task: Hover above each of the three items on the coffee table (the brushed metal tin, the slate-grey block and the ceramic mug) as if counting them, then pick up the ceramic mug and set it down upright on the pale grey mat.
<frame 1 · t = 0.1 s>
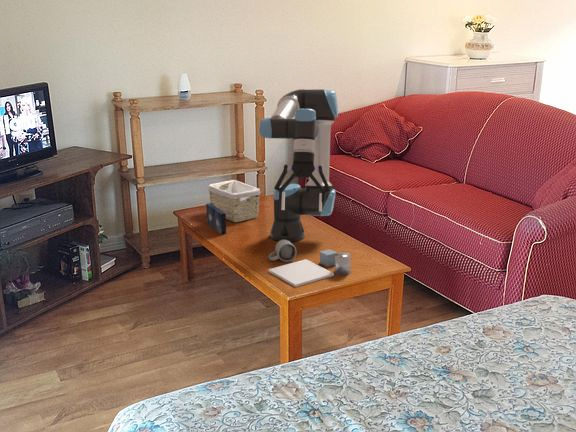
hand: (301, 210, 243), 28 cm above the table, tool tilted 20°, fingers open, 13 cm apart
vhs cassette tape: (216, 229, 311), on the table
slate block: (328, 263, 269), on the table
metal tin: (342, 272, 260), on the table
grey mat: (301, 273, 259), on the table
storage basket: (234, 215, 330), on the table
ceramic mug: (282, 259, 274), on the table
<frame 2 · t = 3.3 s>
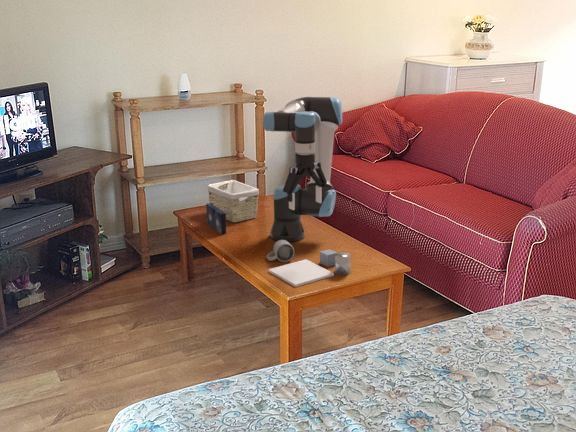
hand: (305, 205, 265), 23 cm above the table, tool pointing down, fingers open, 13 cm apart
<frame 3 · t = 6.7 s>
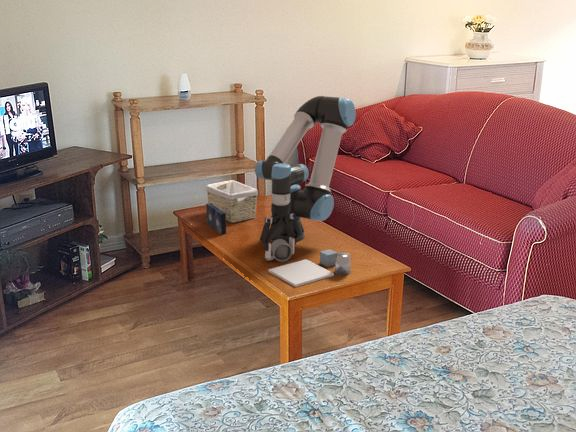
hand: (279, 255, 273), 2 cm above the table, tool pointing down, fingers open, 11 cm apart
ceramic mug: (278, 259, 274), on the table, touching gripper
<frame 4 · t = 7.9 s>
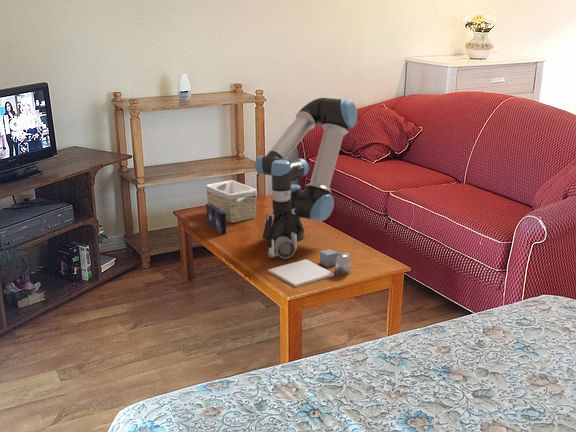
hand: (283, 251, 273), 3 cm above the table, tool pointing down, fingers closed on ceramic mug, 10 cm apart
ceramic mug: (281, 256, 274), point 1 cm above the table, touching gripper
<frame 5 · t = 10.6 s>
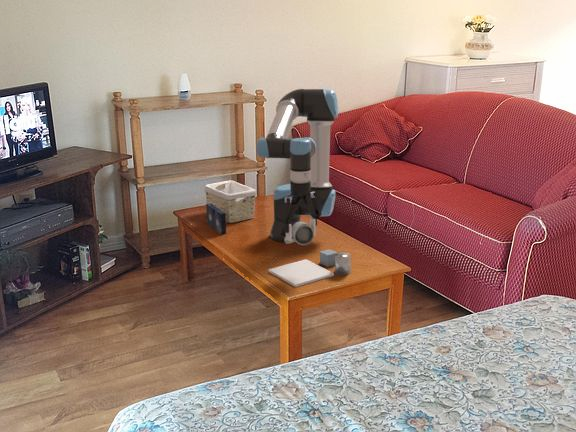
hand: (300, 237, 254), 15 cm above the table, tool pointing down, fingers closed on ceramic mug, 10 cm apart
ceramic mug: (298, 242, 255), point 13 cm above the table, touching gripper
when the fingers open (3 cm above the table, at t = 13.1 s): ceramic mug stays where it is, resting on grey mat.
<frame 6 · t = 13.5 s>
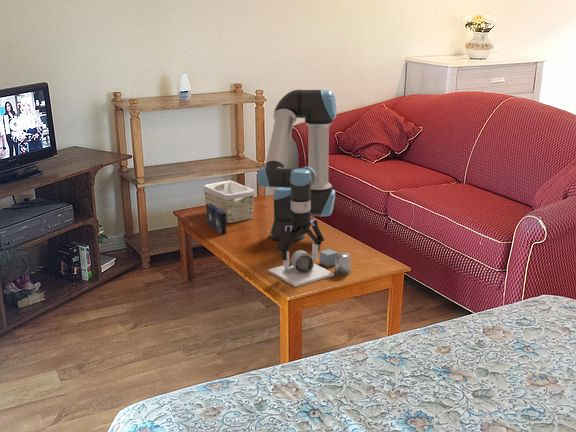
hand: (300, 263, 258), 4 cm above the table, tool pointing down, fingers open, 13 cm apart
ceramic mug: (298, 271, 259), point 1 cm above the table, touching grey mat
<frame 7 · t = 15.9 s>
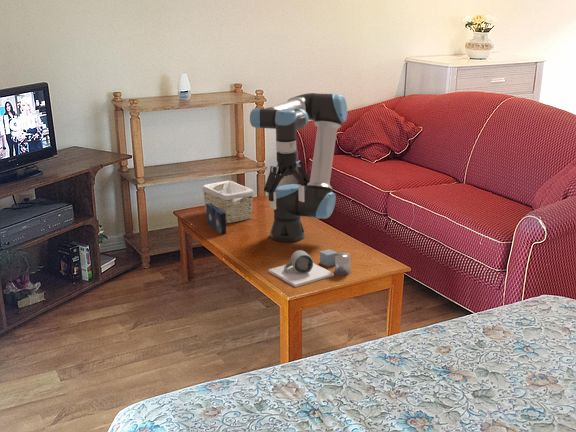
hand: (287, 205, 259), 25 cm above the table, tool pointing down, fingers open, 13 cm apart
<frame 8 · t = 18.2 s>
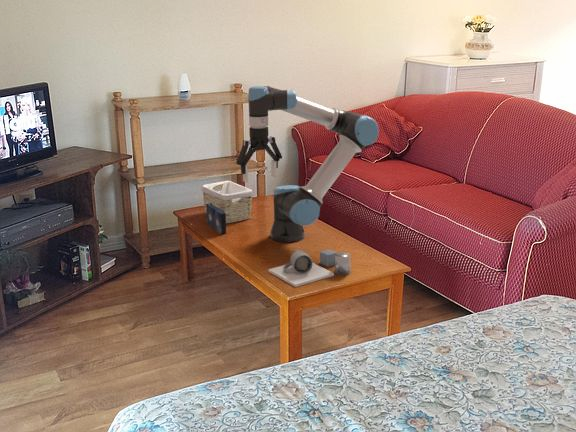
hand: (260, 179, 271), 32 cm above the table, tool pointing down, fingers open, 13 cm apart
at the end: ceramic mug inside the target area on the grey mat (1.3 cm from its centre), point 0.8 cm above the grey mat's base; ceramic mug tilted 1°; slate block moved 0.1 cm from its start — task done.
